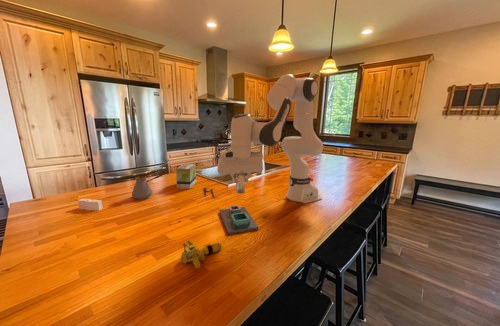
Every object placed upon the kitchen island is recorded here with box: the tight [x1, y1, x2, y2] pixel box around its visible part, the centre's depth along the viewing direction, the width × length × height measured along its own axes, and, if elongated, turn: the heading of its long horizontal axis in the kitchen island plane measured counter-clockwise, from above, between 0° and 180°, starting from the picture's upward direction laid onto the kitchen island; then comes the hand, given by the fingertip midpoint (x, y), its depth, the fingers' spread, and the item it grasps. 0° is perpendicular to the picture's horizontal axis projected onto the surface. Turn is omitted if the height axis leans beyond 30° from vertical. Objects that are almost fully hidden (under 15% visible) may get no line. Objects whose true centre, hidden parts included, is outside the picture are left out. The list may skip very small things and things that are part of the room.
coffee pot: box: [131, 171, 169, 201], centre depth 127 cm, size 21×12×15 cm, turn 111°
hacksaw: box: [203, 187, 218, 200], centre depth 134 cm, size 24×10×2 cm, turn 14°
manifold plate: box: [218, 204, 259, 236], centre depth 100 cm, size 14×22×4 cm, turn 18°
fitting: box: [235, 172, 246, 194], centre depth 91 cm, size 4×4×10 cm
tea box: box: [175, 163, 197, 190], centre depth 149 cm, size 15×10×15 cm
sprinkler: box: [180, 239, 222, 269], centre depth 76 cm, size 19×4×15 cm
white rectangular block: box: [77, 198, 104, 211], centre depth 110 cm, size 15×11×6 cm
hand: (240, 182), depth 92 cm, fingers closed on fitting, 4 cm apart
